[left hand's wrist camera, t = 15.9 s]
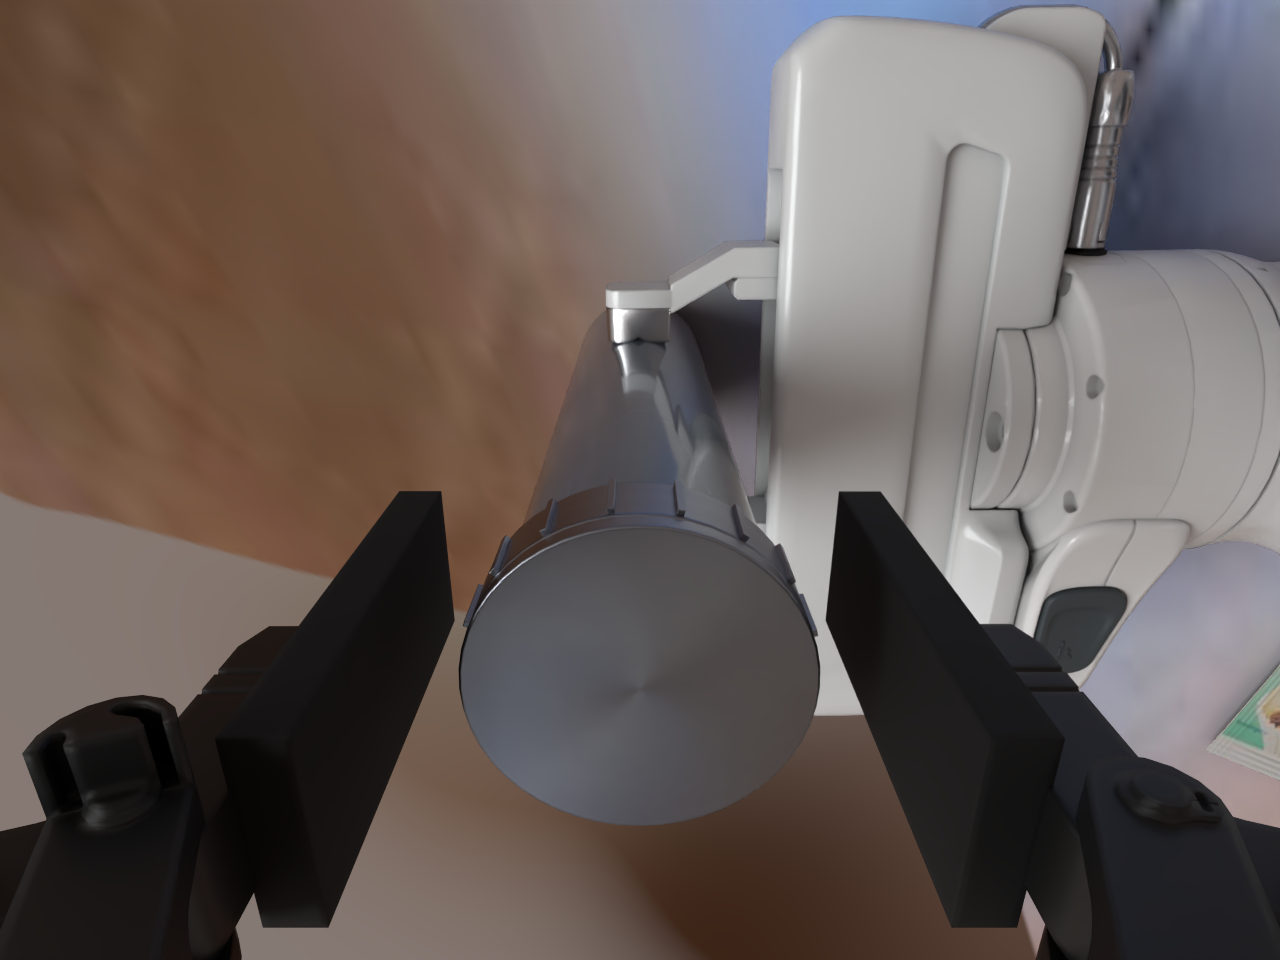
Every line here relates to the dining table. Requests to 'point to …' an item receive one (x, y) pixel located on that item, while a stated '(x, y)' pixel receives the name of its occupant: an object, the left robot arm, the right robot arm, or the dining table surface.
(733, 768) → the lid
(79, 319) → the dining table surface
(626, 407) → the dark grey cylinder
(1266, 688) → the baking ingredient package
